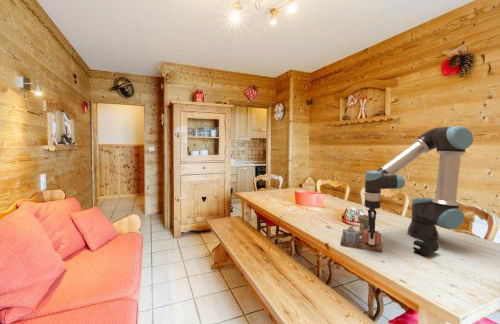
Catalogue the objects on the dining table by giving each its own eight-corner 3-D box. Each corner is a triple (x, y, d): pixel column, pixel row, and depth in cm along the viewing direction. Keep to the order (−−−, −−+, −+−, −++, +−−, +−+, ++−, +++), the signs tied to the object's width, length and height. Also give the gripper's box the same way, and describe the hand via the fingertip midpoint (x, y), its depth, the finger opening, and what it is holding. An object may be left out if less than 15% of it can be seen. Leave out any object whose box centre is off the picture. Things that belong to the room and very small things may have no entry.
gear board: (380, 244, 129) (381, 227, 129) (382, 252, 120) (382, 233, 120) (341, 238, 138) (342, 222, 137) (340, 245, 129) (341, 227, 128)
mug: (377, 236, 141) (378, 219, 141) (364, 237, 140) (364, 220, 139) (364, 229, 153) (364, 213, 152) (351, 230, 151) (351, 214, 150)
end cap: (428, 258, 114) (429, 245, 113) (412, 252, 120) (413, 240, 119) (438, 254, 118) (439, 241, 118) (423, 248, 125) (423, 236, 124)
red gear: (375, 238, 131) (375, 229, 131) (383, 244, 122) (383, 235, 122) (359, 237, 131) (359, 229, 131) (366, 244, 123) (366, 235, 122)
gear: (359, 238, 133) (359, 229, 133) (359, 244, 125) (359, 235, 125) (343, 235, 137) (343, 227, 137) (341, 241, 129) (342, 232, 129)
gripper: (364, 195, 136) (363, 232, 138) (364, 203, 117) (363, 247, 119) (378, 196, 133) (377, 234, 135) (382, 205, 114) (380, 250, 115)
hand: (371, 240), depth 127 cm, fingers closed on red gear, 9 cm apart
